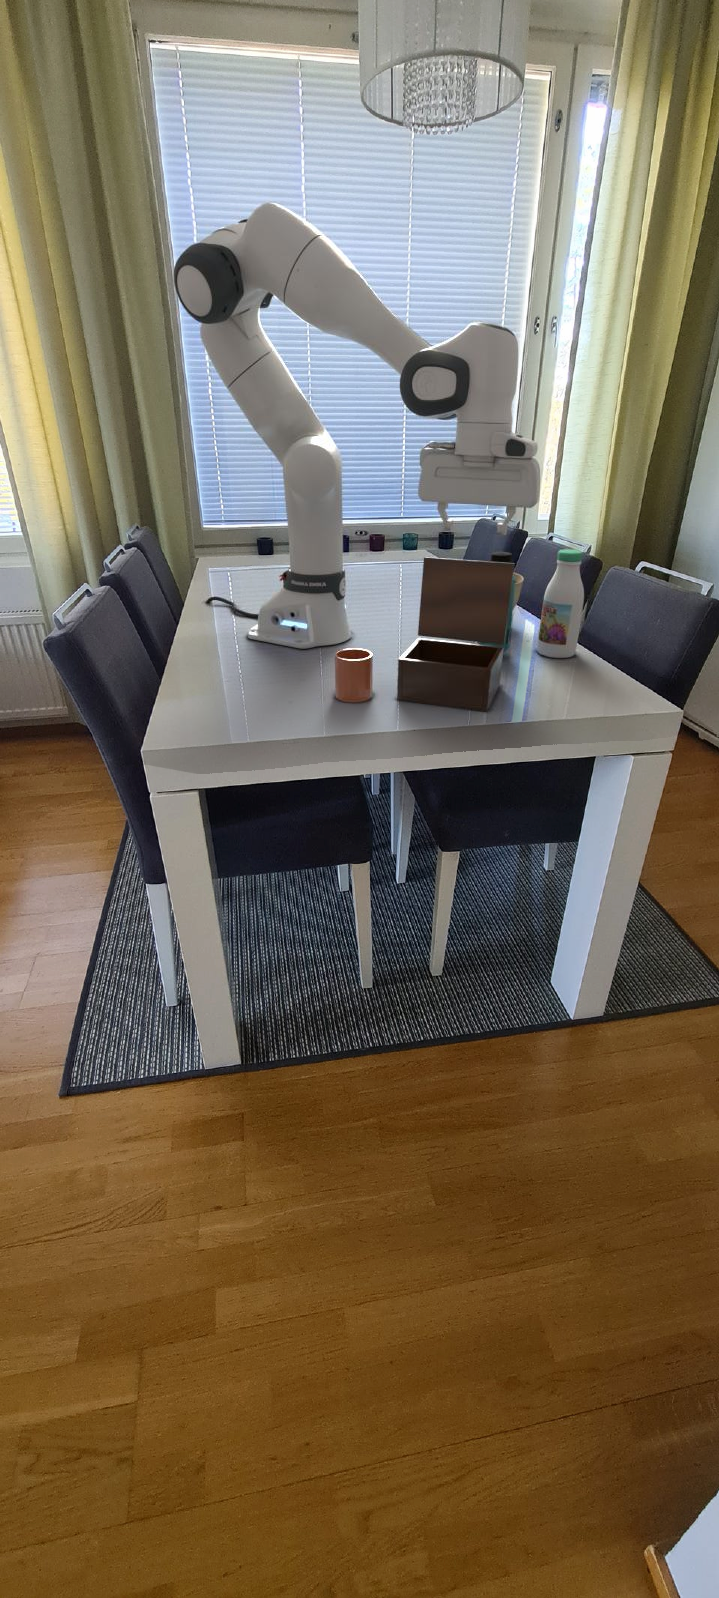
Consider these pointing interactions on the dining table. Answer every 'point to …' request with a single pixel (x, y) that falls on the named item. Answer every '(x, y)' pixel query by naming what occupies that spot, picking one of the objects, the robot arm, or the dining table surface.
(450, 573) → the lid
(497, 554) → the beverage bottle
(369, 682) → the cup
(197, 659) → the dining table surface
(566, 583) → the milk bottle
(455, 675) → the box
